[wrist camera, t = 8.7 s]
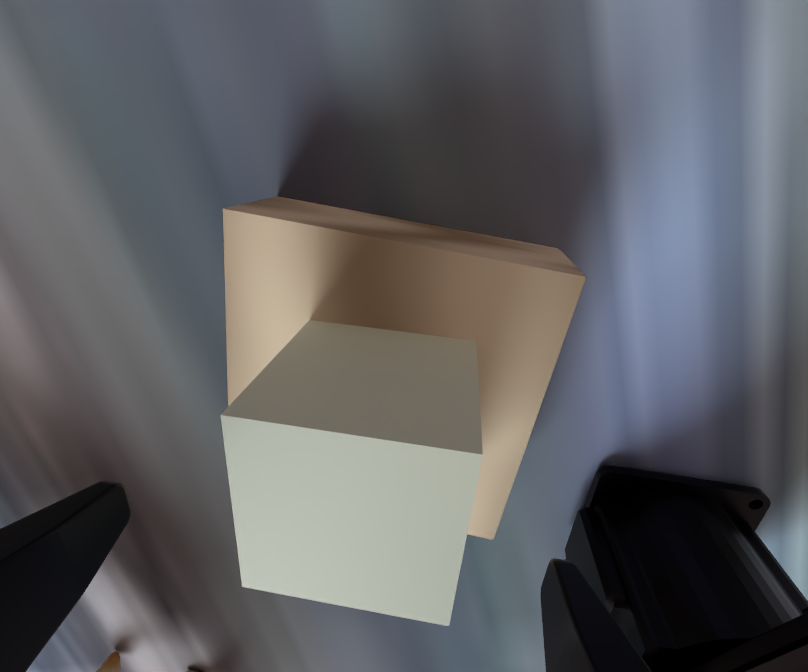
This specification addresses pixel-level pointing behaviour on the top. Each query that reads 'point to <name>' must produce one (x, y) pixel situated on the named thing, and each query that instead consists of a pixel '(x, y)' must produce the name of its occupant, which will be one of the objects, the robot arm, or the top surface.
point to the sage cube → (357, 469)
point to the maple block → (405, 307)
